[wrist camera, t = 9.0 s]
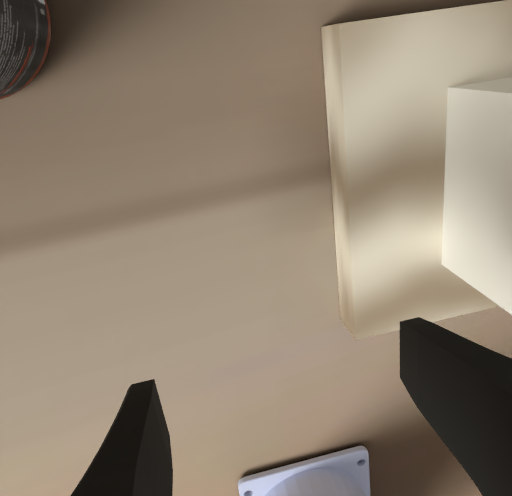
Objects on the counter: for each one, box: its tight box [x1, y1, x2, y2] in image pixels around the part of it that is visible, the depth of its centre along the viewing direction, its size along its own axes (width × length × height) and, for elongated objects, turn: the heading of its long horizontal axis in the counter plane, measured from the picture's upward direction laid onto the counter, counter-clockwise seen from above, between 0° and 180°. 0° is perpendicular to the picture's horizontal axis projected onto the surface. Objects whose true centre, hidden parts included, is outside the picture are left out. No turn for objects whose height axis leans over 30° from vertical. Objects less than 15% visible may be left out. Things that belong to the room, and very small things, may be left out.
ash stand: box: [321, 0, 512, 340], centre depth 22 cm, size 14×14×2 cm
